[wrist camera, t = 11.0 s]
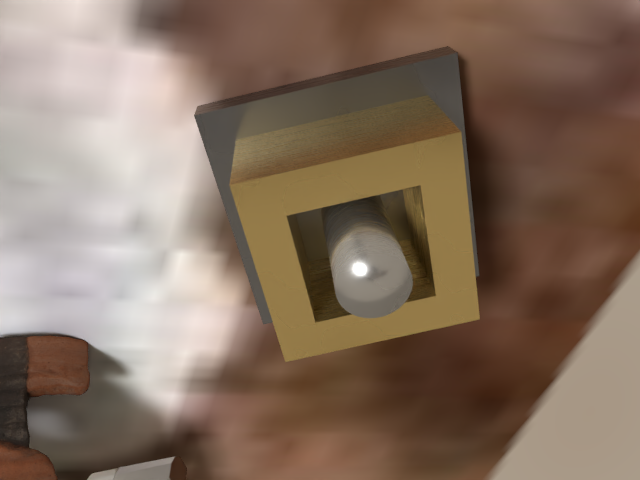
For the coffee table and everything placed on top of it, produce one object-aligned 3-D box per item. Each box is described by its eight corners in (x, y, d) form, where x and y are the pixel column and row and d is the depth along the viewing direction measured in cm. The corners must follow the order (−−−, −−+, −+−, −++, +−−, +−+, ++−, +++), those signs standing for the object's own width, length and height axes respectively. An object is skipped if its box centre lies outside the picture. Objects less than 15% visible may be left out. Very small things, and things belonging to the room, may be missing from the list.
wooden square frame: (235, 139, 18) (229, 184, 15) (428, 95, 18) (461, 131, 15) (282, 297, 21) (285, 361, 18) (448, 260, 21) (479, 319, 18)
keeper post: (197, 106, 18) (169, 180, 13) (448, 46, 18) (521, 98, 13) (263, 308, 22) (262, 428, 17) (470, 261, 22) (534, 369, 17)
